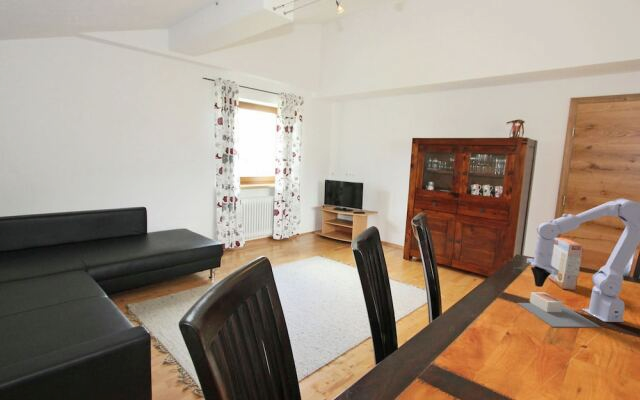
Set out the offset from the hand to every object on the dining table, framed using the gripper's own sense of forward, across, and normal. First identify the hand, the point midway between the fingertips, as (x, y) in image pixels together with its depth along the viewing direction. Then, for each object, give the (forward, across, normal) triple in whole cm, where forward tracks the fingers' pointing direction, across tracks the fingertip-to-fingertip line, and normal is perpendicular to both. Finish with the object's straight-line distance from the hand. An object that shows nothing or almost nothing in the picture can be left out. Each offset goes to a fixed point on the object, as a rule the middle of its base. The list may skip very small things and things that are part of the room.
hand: (538, 286), depth 134 cm
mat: (+7, +10, 0) cm, 12 cm away
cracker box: (+7, -20, +28) cm, 35 cm away
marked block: (+5, 0, 0) cm, 5 cm away
